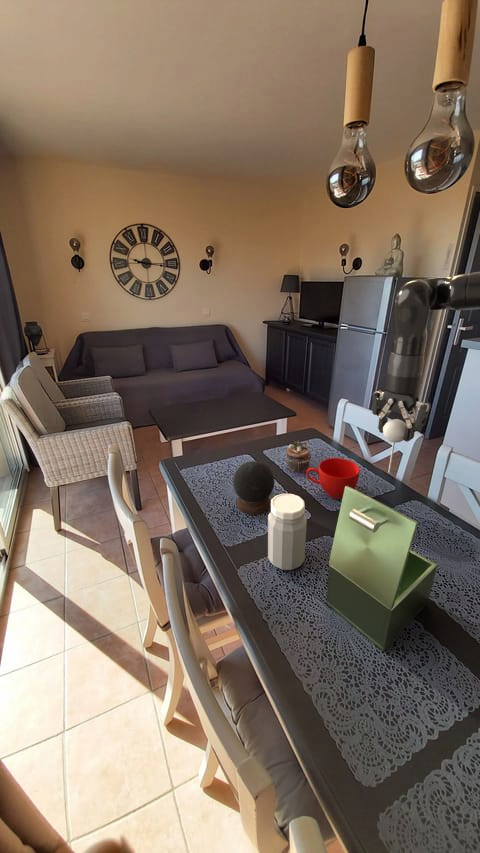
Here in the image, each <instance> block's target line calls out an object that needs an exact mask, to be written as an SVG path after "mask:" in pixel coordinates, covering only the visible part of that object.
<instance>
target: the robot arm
mask: <svg viewBox="0 0 480 853" xmlns="http://www.w3.org/2000/svg"><path fill="white" fill-rule="evenodd" d="M394 302H395V303H394V316H393V317H394V318H393V319H394V321H393V322H394V331H393V336H392V342H391V350H390V355H389V358H388V363H387V370H386V371H387V372H386V379H385V384H384V385H385V386H384V389H385V391H382V390H376V391H374V392H373V393H372V407H371V408H372V414H373V416H377V417H378V425H377V429H378V430H379V431H378V432H379V433H381V434H383V426H384V425H385V424H386V423H387V422H388V421H389V417H388V416H389V415H390V414H391V413H398V414H399V415H402V418H403V421H404V420H405V421H404V422H405V423H406V425H407V427H406V432H405V438H404V440H403V441H404V442H407V443H408V442H410V441H411V440H413V439H414V438H415V434H416V433H415V432H416V429H419V428H421V427H424V426H425V425H426V422H427V420H428V417H429V413H430V411H431V407H432V404H431V403H430V402H423V401H421V400H420V399H419V393H420V388H421V383H422V378H423V371H424V365H425V352H426V346H427V341H428V329H427V326H428V322H429V315H430V312H432V311H442V310H452V311H468V310H469V311H470V310H480V271H476V272H467V273H462V274H461V273H460V274H457V275H454V276H441V277H428V278H418V279H414V280H410V281H408V282H406V283H405V284H403V285H402V286H401V287H400V288H399V290H398V292H397V294H396V296H395V301H394ZM383 400H384V401H385V405H383ZM415 407H417V411H418V414H417V415H416V411H415ZM416 416H417V417H416Z"/></svg>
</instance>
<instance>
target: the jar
mask: <svg viewBox="0 0 480 853" xmlns="http://www.w3.org/2000/svg"><path fill="white" fill-rule="evenodd" d="M270 500H271V507H270V512H269V514H268V516H267V559H268V561H270V563H271V564H272V565H273V566H274V567H275V568H278V569H280V570H281V571H292V570H295V569H298V568H300V567H301V566H302V564H303V563H304V561H305V559H306V542H307V524H308V522H307V521H308V520H307V515H306V513H305V508H306V506H305V505H306V504H305V500H304V499H303V498H301V496H300V495H296V494H293V493H280V494H277V495H275V496H274V497H273V498H272V499H270Z"/></svg>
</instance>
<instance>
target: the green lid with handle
mask: <svg viewBox="0 0 480 853" xmlns="http://www.w3.org/2000/svg"><path fill="white" fill-rule="evenodd" d="M418 525H419V521H417V520H416V519H413V518H412V517H409V516H407V515H405V514H404V513H402V512H400V511H398V510H395V509H394V508H392V507H390V506H388V505H386V504H385V503H382V502H380V501H378V500H376V499H374V498H372V497H370V496H368V495H367V494H364V493H363V492H360V491H359V490H357V489H356V488H355V489H353V488H351V487H349V486H345V490H344V494H343V498H341V504H340V508H339V514H338V518H337V523H336V528H335V531H334V537H333V541H332V546H331V551H330V556H329V560H328V565H329V566H330V565H331V566H332V567H334V568H335V569H336V570H338V571H339V572H340V573H342V574H343V575H344V576H346V577H347V578H349V579H350V580H351V581H353V582H354V583H355V584H357V585H358V586H359V587H361V588H362V589H363V590H365V591H366V592H368V593H369V594H370V595H372V596H373V597H374V598H376V599H377V600H378V601H380V602H381V603H383V604H384V605H385V606H387V607H388V608H389V609H392V608H393V607H394V603H395V600H396V596H397V593H398V590H399V586H400V583H401V579H402V576H403V573H404V569H405V566H406V563H407V559H408V556H409V552H410V549H411V548H412V545H413V542H414V539H415V535H416V532H417V529H418ZM411 550H412V549H411Z"/></svg>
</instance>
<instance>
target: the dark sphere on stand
mask: <svg viewBox="0 0 480 853" xmlns="http://www.w3.org/2000/svg"><path fill="white" fill-rule="evenodd" d="M232 486H233V490H234V492H235V494H236V495H237V499H236V508H237V509H238V510H239V511H240V512H242V513H244V514H247V515H260V514H264V513H266V512H268V511H269V510H270V509H271V500H272V499H271V498H270V496H271V495H272V493H273V490H274V487H275V477H274V474H273V472H272V470H271V469H270V467H269V466H267V464H265V463H263V462H261V461H256V460H250V461H247V462H244V463H242V464H240V465H239V467H238V468H237V469H236V470H235V472H234V475H233V478H232Z"/></svg>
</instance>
